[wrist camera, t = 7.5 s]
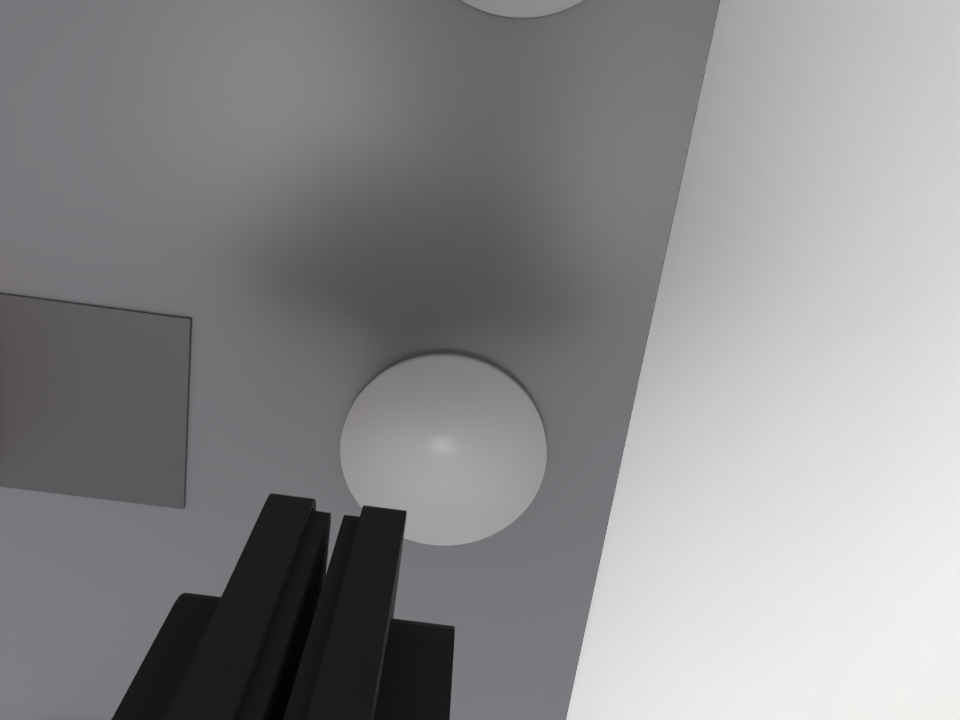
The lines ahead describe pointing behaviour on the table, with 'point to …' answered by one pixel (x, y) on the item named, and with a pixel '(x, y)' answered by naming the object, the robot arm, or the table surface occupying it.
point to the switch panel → (325, 310)
